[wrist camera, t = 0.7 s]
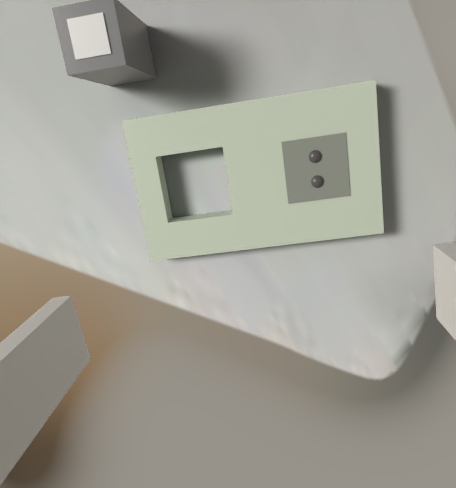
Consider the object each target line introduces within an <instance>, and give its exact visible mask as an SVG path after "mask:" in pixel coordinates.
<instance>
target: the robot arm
mask: <svg viewBox="0 0 456 488" xmlns="http://www.w3.org/2000/svg"><path fill="white" fill-rule="evenodd" d="M433 251H434V273H435V296H436V318H437V319H438V320H439V322H440V323H441V324H442V325H443V326H444V327H445V329H446V330H447V331H448V332H449V333H450V334H451V336H452V337H453V338H454V339H455V340H456V242H451V243H443V244H436V245H433ZM89 360H90V355H89V352H88V349H87V346H86V342H85V339H84V336H83V332H82V329H81V326H80V322H79V319H78V316H77V312H76V309H75V306H74V303H73V300H72V296H63V297H56V298H52V299H51V300H50V301H48V302H47V303H46V304H45V305H44V306H43V307H41V308H40V309H39V310H38V311H37V312H36V313H34V314H33V315H32V316H31V317H30V318H29V319H28V320H26V321H25V322H24V323H23V324H22V325H21V326H19V327H18V328H17V329H16V330H15V331H14V332H12V333H11V334H10V335H9V336H8V337H7V338H5V339H4V340H3V341H2V342H1V343H0V485H1V484H2V482H3V481H4V479H5V478H6V477H7V475H8V474H9V472H10V471H11V470H12V468H13V467H14V465H15V464H16V462H17V461H18V460H19V458H20V457H21V456H22V454H23V453H24V451H25V450H26V449H27V447H28V446H29V444H30V443H31V442H32V440H33V439H34V437H35V436H36V435H37V433H38V432H39V430H40V429H41V428H42V426H43V425H44V423H45V422H46V421H47V419H48V418H49V416H50V415H51V414H52V412H53V411H54V409H55V408H56V407H57V405H58V404H59V402H60V401H61V399H62V398H63V397H64V395H65V394H66V392H67V391H68V390H69V388H70V387H71V386H72V384H73V383H74V381H75V380H76V379H77V377H78V376H79V374H80V373H81V372H82V370H83V369H84V367H85V366H86V365H87V363H88V362H89Z"/></svg>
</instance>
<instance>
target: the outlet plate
mask: <svg viewBox="0 0 456 488" xmlns="http://www.w3.org/2000/svg"><path fill="white" fill-rule="evenodd" d="M122 126H123V131H124V135H125V140H126V145H127V150H128V155H129V160H130V164H131V169H132V174H133V179H134V184H135V189H136V194H137V198H138V203H139V208H140V213H141V218H142V223H143V227H144V232H145V237H146V242H147V247H148V252H149V257H150V261H156V260H164V259H172V258H181V257H189V256H197V255H206V254H214V253H223V252H231V251H239V250H248V249H256V248H264V247H273V246H281V245H290V244H298V243H306V242H315V241H323V240H331V239H340V238H348V237H356V236H365V235H373V234H382V233H384V224H383V205H382V186H381V167H380V149H379V130H378V111H377V92H376V80H371V81H365V82H359V83H352V84H346V85H340V86H334V87H328V88H321V89H315V90H309V91H303V92H297V93H291V94H284V95H278V96H272V97H266V98H260V99H253V100H247V101H241V102H235V103H229V104H223V105H216V106H210V107H204V108H198V109H192V110H185V111H179V112H173V113H167V114H161V115H155V116H148V117H142V118H136V119H130V120H124V121H122ZM218 147H223V154H224V160H225V167H226V174H227V181H228V187H229V194H230V201H231V208H232V210H229V211H221V212H214V213H206V214H199V215H191V216H183V217H176V218H173V216H172V211H171V206H170V200H169V195H168V190H167V184H166V179H165V173H164V168H163V163H162V157H161V156H164V155H171V154H178V153H184V152H191V151H198V150H205V149H211V148H218Z"/></svg>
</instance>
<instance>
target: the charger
mask: <svg viewBox="0 0 456 488" xmlns="http://www.w3.org/2000/svg"><path fill="white" fill-rule="evenodd" d="M52 10H53V14H54V18H55V23H56V27H57V31H58V35H59V40H60V44H61V48H62V53H63V57H64V61H65V66H66V70H67V74H68V75H69V76H73V77H77V78H81V79H85V80H89V81H93V82H96V83H100V84H104V85H108V86H114V85H119V84H125V83H131V82H137V81H143V80H148V79H154V78H156V73H155V67H154V62H153V56H152V51H151V45H150V40H149V34H148V29H147V25H146V24H145V23H143V22H142V21H141V20H140V19H139V18H138V17H136V16H135V15H134V14H133V13H132V12H131V11H129V10H128V9H127V8H126V7H125V6H124V5H122V4H121V3H120V2H119V1H118V0H90V1H85V2H80V3H75V4H70V5H65V6H60V7H55V8H52Z"/></svg>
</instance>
